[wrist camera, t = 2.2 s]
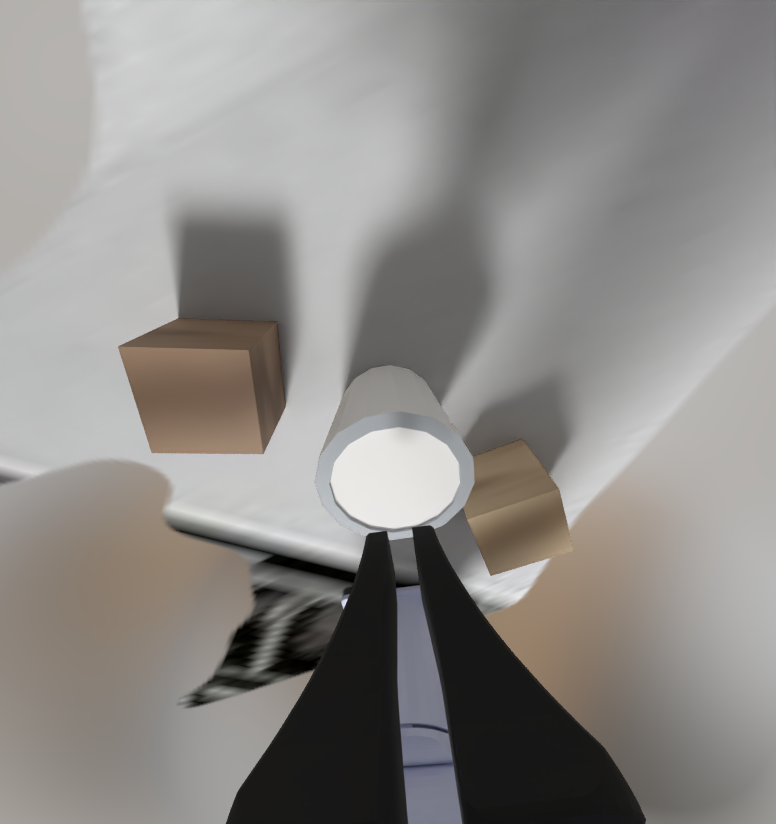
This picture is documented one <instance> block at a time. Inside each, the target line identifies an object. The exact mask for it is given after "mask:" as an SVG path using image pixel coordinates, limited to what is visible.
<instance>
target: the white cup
mask: <svg viewBox="0 0 776 824" xmlns="http://www.w3.org/2000/svg"><path fill="white" fill-rule="evenodd" d="M474 483H475V480H474V462H473V456H472V455H471V453H470V451H469V450H468V448H467V447H466V445H465V443H464V442H463V440H462V438H461V437H460V435H459V433H458V432H457V430H456V429H455V427H454V426H453V424H452V423H451V421H450V419H449V418H448V416H447V415H446V413H445V412H444V410H443V408H442V407H441V405H440V404H439V402H438V401H437V399H436V397H435V396H434V394H433V393H432V391H431V390H430V388H429V386H428V385H427V383H426V382H425V380H424V379H423V378H421V377H420V376H418V375H417V374H415V373H414V372H413V371H411V370H410V369H406V368H402V367H397V366H392V365H388V366H382V367H376V368H371V369H369V370H367V371H366V372H364V373H362V374H361V375H359V376H357V377H356V378H354V380H353V381H352V383H351V384H350V385H349V387H348V388H347V390H346V391H345V392H344V395H343V397H342V400H341V402H340V405H339V408H338V410H337V413H336V415H335V418H334V420H333V423H332V426H331V428H330V431H329V433H328V436H327V438H326V441H325V443H324V446H323V449H322V451H321V454H320V456H319V461H318V467H317V472H316V478H315V485H316V488H317V491H318V494H319V497H320V500H321V503H322V506H323V507H324V508H325V509H326V511H327V512H328V513H329V514H330V515H331V516H332V517H333V518H334V519H335V520H336V521H337V522H338V523H339V524H340V525H341V526H344V527H346V528H348V529H350V530H352V531H354V532H356V533H358V534H360V535H362V536H365V537H366V536H367V535H368V534H369V533H374V532H381V531H387V533H388V538H389V540H397V539H404V538H410V537H413V532H412V527H419V526H427V525H431V526H432V527H434V529H436V528H438V527H440V526H443V525H445V524H446V523H447V522H448V521H449V520H450V519H451V518H452V517H453V516H454V515H455V514H456V513H458V512H459V511H460V510H461V509H462V508H463V507H464V506H465V504H466V501H467V499H468V497H469V494H470V492H471V490H472V488H473V485H474Z"/></svg>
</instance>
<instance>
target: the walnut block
mask: <svg viewBox="0 0 776 824" xmlns="http://www.w3.org/2000/svg"><path fill="white" fill-rule="evenodd" d="M118 348H119V351H120V354H121V358H122V361H123V364H124V367H125V370H126V373H127V376H128V380H129V383H130V386H131V389H132V392H133V395H134V399H135V402H136V405H137V408H138V411H139V414H140V417H141V421H142V424H143V427H144V430H145V433H146V436H147V440H148V443H149V446H150V449H151V452H152V453H206V454H264V451H265V449H266V447H267V445H268V443H269V441H270V439H271V437H272V435H273V432H274V430H275V428H276V426H277V424H278V422H279V420H280V418H281V415H282V413H283V411H284V409H285V407H286V406H285V396H284V386H283V376H282V366H281V356H280V346H279V336H278V326H277V322H273V321H243V320H213V319H183V318H178V319H176V320H174V321H172V322H170V323H167V324H165V325H163V326H161V327H159V328H157V329H155V330H152V331H150V332H148V333H146V334H144V335H142V336H140V337H137V338H135V339H133V340H131V341H129V342H127V343H125V344H123V345H120V346H118Z"/></svg>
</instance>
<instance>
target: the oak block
mask: <svg viewBox="0 0 776 824" xmlns="http://www.w3.org/2000/svg"><path fill="white" fill-rule="evenodd" d="M473 462H474V480H475V483H474V485H473V488H472V490H471V492H470V494H469V497H468V499H467V501H466V504H465V506H464V507H463V509H464V512H465V515H466V518H467V521H468V523H469V525H470V528H471V530H472V533H473V535H474V537H475V540H476V542H477V544H478V547H479V549H480V552H481V554H482V556H483V559H484V561H485V563H486V566H487V568H488V571H489V573H490V575H491V576H492V575H495V574H499V573H502V572H505V571H508V570H512V569H515V568H518V567H522V566H525V565H528V564H531V563H535V562H538V561H541V560H544V559H548V558H551V557H554V556H558V555H561V554H564V553H567V552H570V551H573V546H572V541H571V537H570V533H569V529H568V524H567V520H566V516H565V512H564V508H563V503H562V499H561V495H560V491H559V488H558V487H557V485H556V484H555V483H554V481H553V480H552V479H551V477H550V476H549V474H548V473H547V472H546V470H545V469H544V468H543V466H542V465H541V463H540V462H539V461H538V459H537V458H536V457H535V455H534V454H533V452H532V451H531V450H530V448H529V447H528V446H527V444H526V443H525V441H524V440H523V439H521V440H518V441H515V442H512V443H510V444H507V445H504V446H501V447H499V448H496V449H493V450H490V451H487V452H485V453H482V454H479V455H476V456H473Z"/></svg>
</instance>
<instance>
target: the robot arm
mask: <svg viewBox="0 0 776 824" xmlns="http://www.w3.org/2000/svg"><path fill="white" fill-rule="evenodd" d="M412 532H413V540H414V547H415V554H416V562H417V569H418V576H419V583H420V585H417V586H409V587H402V588H396V582H395V571H394V566H393V560H392V555H391V549H390V544H389V538H388V533H387V531H381V532H374V533H369V534H368V535H367V536H366V541H365V546H364V550H363V554H362V558H361V561H360V565H359V568H358V571H357V574H356V577H355V580H354V583H353V586H352V589H351V592H350V594H347V595H344V596H343V597H342V601H341V603H342V606H343V612H342V614H341V617H340V619H339V622H338V624H337V626H336V628H335V631H334V633H333V635H332V637H331V639H330V641H329V643H328V645H327V648H326V650H325V652H324V654H323V656H322V658H321V660H320V661H319V663H318V665H317V667H316V669H315V671H314V673H313V674H312V676H311V678H310V680H309V682H308V684H307V685H306V687H305V689H304V691H303V692H302V694H301V696H300V698H299V699H298V701H297V703H296V704H295V706H294V708H293V709H292V711H291V712H290V714H289V715H288V717H287V719H286V720H285V722H284V724H283V725H282V727H281V728H280V730H279V732H278V733H277V735H276V736H275V738H274V739H273V741H272V742H271V744H270V745H269V747H268V748H267V750H266V751H265V753H264V754H263V756H262V757H261V759H260V760H259V761H258V763H257V764H256V766H255V767H254V769H253V770H252V771H251V773H250V774H249V776H248V777H247V779H246V780H245V782H244V783H243V784H242V786H241V787H240V789H239V791H238V792H237V795H236V797H235V800H234V802H233V805H232V808H231V810H230V813H229V816H228V819H227V822H226V824H645V821H646V819H645V817H644V814H643V812H642V810H641V807H640V805H639V803H638V801H637V800H636V798H635V796H634V794H633V792H632V791H631V789H630V787H629V785H628V783H627V782H626V780H625V779H624V777H623V775H622V774H621V772H620V770H619V769H618V767H617V766H616V764H615V763H614V761H613V760H612V758H611V757H610V755H609V754H608V752H607V751H606V749H605V748H604V747H603V746H602V745H601V744H600V743H599V742H598V741H597V740H596V739H595V738H594V737H593V736H592V735H591V734H589V732H587V731H586V730H585V729H584V728H583V727H582V726H581V725H580V724H579V723H578V722H577V721H576V720H575V719H574V718H573V717H572V716H571V715H570V714H569V713H568V712H567V711H566V710H565V709H564V708H563V707H562V706H561V705H560V704H559V703H558V702H557V701H556V700H555V698H554V697H553V696H551V694H550V693H549V692H548V691H547V690H546V689H545V688H544V687H543V686H542V685H541V684H540V683H539V681H538V680H537V679H536V678H535V677H534V676H533V675H532V674H531V673H530V671H529V670H528V669H527V668H526V667H525V666H524V665H523V664H522V662H521V661H520V660H519V659H518V658H517V657H516V656H515V655H514V653H513V652H512V651H511V650H510V648H509V647H508V646H507V645H506V644H505V642H504V641H503V640H502V639H501V637H500V636H499V635H498V634H497V632H496V631H495V630H494V628H493V627H492V626H491V624H489V622H488V621H487V619H486V618H485V616H484V615H483V614H482V612H481V611H480V610H479V608H478V607H477V605H476V604H475V602H474V601H473V599H472V598H471V596H470V595H469V594H468V592H467V590H466V589H465V587H464V586H463V584H462V583H461V581H460V579H459V578H458V576H457V574H456V573H455V571H454V569H453V568H452V566H451V564H450V562H449V561H448V559H447V557H446V555H445V553H444V551H443V549H442V547H441V545H440V543H439V541H438V538H437V536H436V533H435V530H434V527H432V526H431V525H427V526H419V527H412Z"/></svg>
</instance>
